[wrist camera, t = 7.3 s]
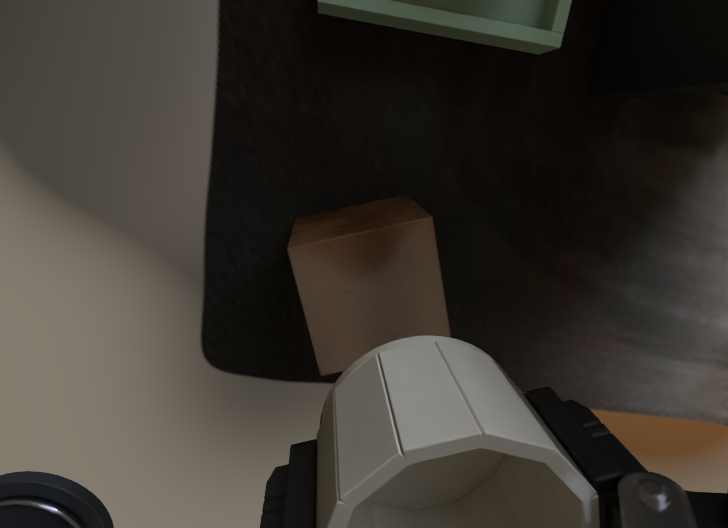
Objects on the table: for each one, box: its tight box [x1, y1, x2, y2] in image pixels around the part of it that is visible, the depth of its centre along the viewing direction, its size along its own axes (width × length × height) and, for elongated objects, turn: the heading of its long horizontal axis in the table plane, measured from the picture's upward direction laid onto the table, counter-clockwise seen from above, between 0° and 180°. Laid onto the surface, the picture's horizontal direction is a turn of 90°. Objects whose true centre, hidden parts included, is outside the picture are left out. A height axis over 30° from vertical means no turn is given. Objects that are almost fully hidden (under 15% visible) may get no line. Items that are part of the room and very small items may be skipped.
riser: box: [287, 195, 451, 376], centre depth 29 cm, size 8×8×8 cm
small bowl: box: [315, 335, 600, 528], centre depth 12 cm, size 6×6×4 cm
